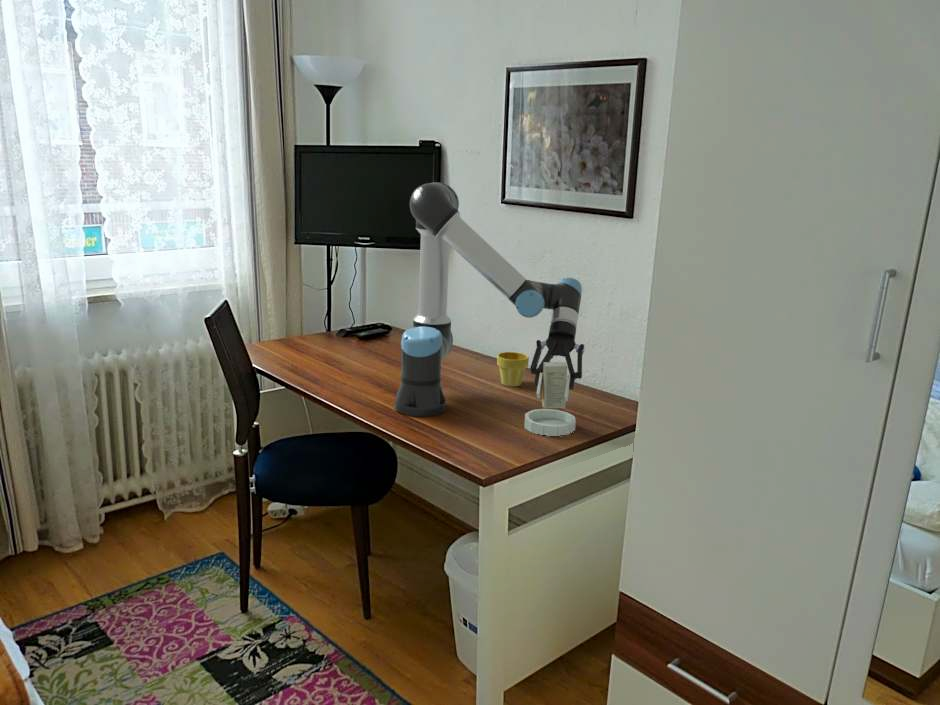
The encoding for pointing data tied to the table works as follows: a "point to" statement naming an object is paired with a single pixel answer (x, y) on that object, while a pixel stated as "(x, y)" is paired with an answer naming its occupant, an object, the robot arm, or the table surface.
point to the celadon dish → (549, 422)
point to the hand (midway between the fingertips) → (552, 397)
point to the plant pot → (512, 367)
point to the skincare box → (554, 384)
